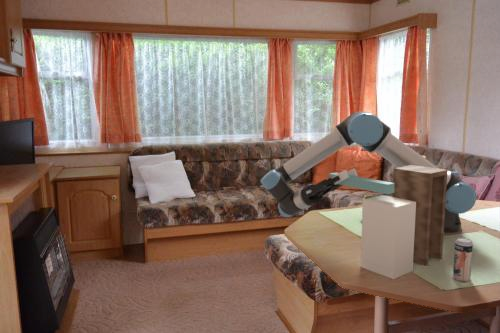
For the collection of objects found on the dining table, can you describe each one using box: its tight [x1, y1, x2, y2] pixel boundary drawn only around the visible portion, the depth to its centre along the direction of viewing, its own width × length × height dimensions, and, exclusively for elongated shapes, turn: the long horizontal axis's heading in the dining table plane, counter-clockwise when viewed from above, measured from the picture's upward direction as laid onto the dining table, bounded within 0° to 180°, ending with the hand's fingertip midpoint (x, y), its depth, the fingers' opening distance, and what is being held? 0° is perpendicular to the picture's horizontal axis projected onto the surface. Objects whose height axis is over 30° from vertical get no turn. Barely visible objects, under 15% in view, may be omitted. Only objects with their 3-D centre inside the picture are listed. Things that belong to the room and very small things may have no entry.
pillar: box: [360, 194, 416, 280], centre depth 136 cm, size 12×10×22 cm
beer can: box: [452, 237, 474, 282], centre depth 128 cm, size 5×5×12 cm
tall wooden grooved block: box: [392, 165, 449, 267], centre depth 144 cm, size 13×10×30 cm
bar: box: [328, 172, 395, 195], centre depth 142 cm, size 24×4×3 cm, turn 36°
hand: (351, 173), depth 144 cm, fingers closed on bar, 3 cm apart
